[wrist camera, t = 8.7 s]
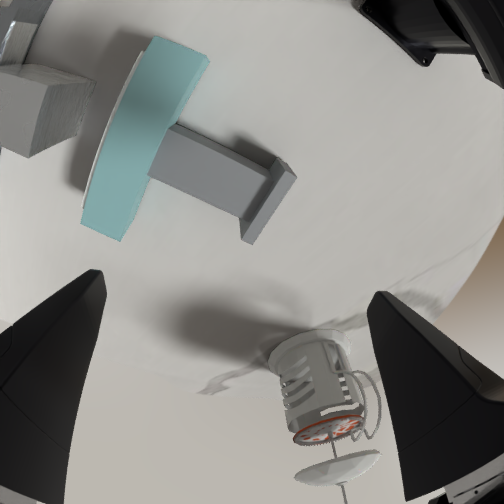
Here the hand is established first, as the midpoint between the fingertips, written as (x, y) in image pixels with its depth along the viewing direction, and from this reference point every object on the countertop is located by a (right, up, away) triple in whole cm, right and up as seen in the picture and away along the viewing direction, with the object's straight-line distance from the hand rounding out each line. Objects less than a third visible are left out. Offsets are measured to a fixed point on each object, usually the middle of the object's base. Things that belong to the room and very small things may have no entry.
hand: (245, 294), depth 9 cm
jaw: (-3, +7, +9) cm, 12 cm away
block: (-14, +12, +5) cm, 19 cm away
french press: (+7, -10, +21) cm, 25 cm away
